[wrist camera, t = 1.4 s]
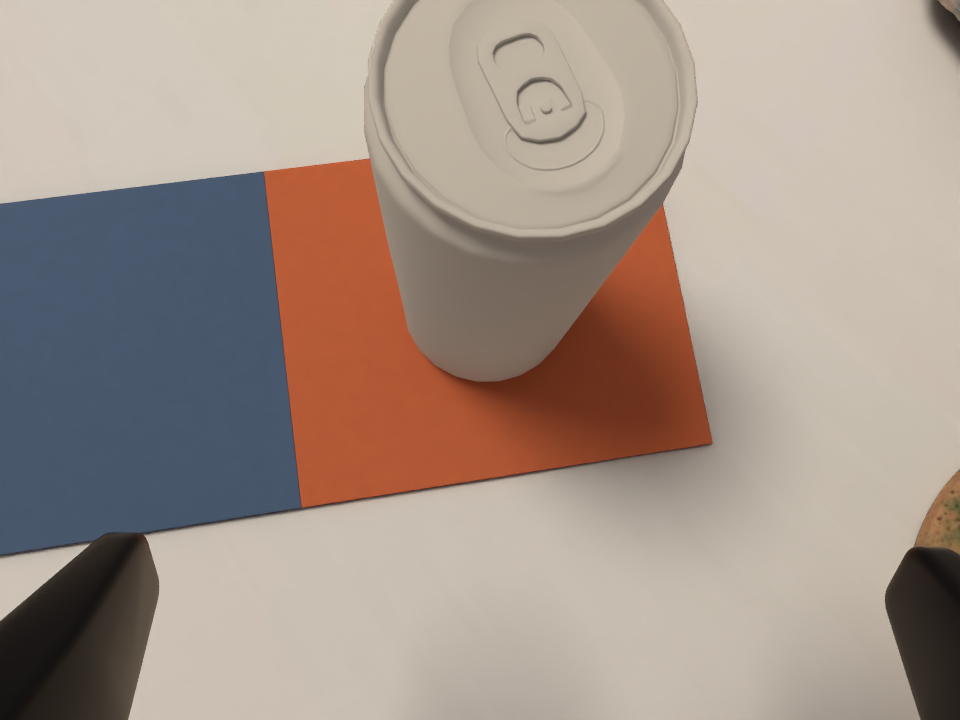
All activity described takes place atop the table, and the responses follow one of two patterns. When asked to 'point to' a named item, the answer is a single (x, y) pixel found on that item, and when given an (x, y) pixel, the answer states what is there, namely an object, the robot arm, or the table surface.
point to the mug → (943, 519)
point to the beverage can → (519, 162)
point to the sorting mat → (285, 362)
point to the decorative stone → (952, 6)
